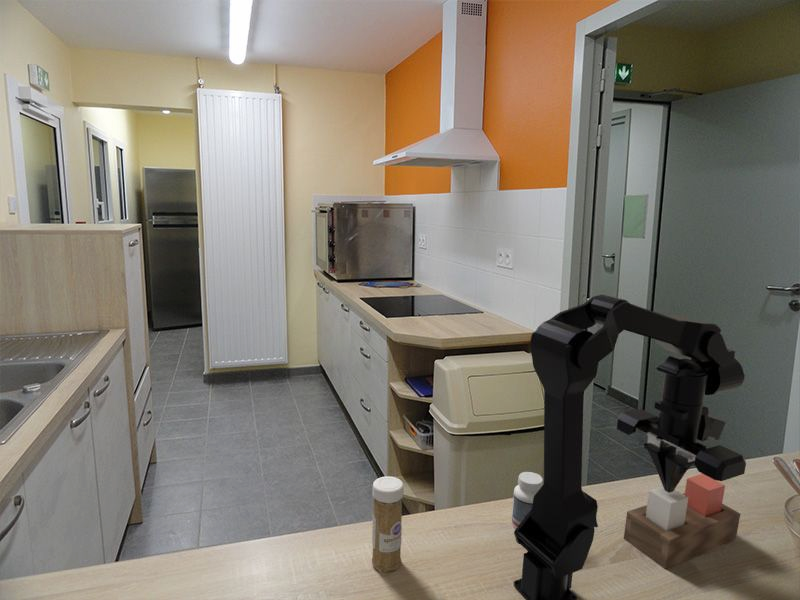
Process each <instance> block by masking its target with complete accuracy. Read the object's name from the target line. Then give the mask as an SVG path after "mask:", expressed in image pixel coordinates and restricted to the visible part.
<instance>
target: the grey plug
mask: <svg viewBox="0 0 800 600" xmlns="http://www.w3.org/2000/svg"><path fill="white" fill-rule="evenodd" d="M687 503H688V497H686V496H685V495H683V493H681V492H679V491H677V490H676V489H674V491H673V492H670V493H669V492H667V491H665V490H664V487H663V485H661V486H659V487H654V488H653V489H649V490H648V497H647V503H646V505H647V510H646V517H647V518H648V519H650V520H651V521H653V522H654V523H656V524H657V525H659V526H660V527H662V528H663V529H665V530H666V531H670V530H673V529H676V528H678V527H681V526H684V523H685V516H686V510H687Z"/></svg>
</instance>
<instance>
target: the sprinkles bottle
mask: <svg viewBox="0 0 800 600" xmlns="http://www.w3.org/2000/svg"><path fill="white" fill-rule="evenodd" d="M403 496H404V483H403V481H402V480H401V479H399V478H398V477H395V476H381V477H379V478H376V479H375V480H374V481H373V483H372V498H373V507H372V510H373V511H372V532H371V533H372V535H371V537H372V539H371V542H372V543H371V544H372V558H371V565H372V566H373V568H374V569H375V570H377V571H379V572H383V573H384V572H385V573H387V572H388V573H390V572H394V571H395V570H397V569H398V568H399V567H400V565H401V563H402V559H401V548H402V547H401V545H402V534H403V533H402V531H403V530H402V527H403V526H402V521H403V520H402V517H403V514H402V511H403V504H402V503H403Z"/></svg>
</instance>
